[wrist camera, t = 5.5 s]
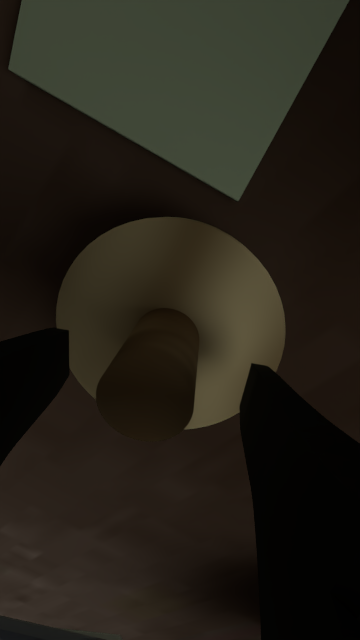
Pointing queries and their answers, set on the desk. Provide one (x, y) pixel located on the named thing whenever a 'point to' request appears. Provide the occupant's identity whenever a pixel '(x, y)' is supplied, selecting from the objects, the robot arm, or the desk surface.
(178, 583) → the desk surface
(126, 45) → the mat
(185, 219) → the lid
